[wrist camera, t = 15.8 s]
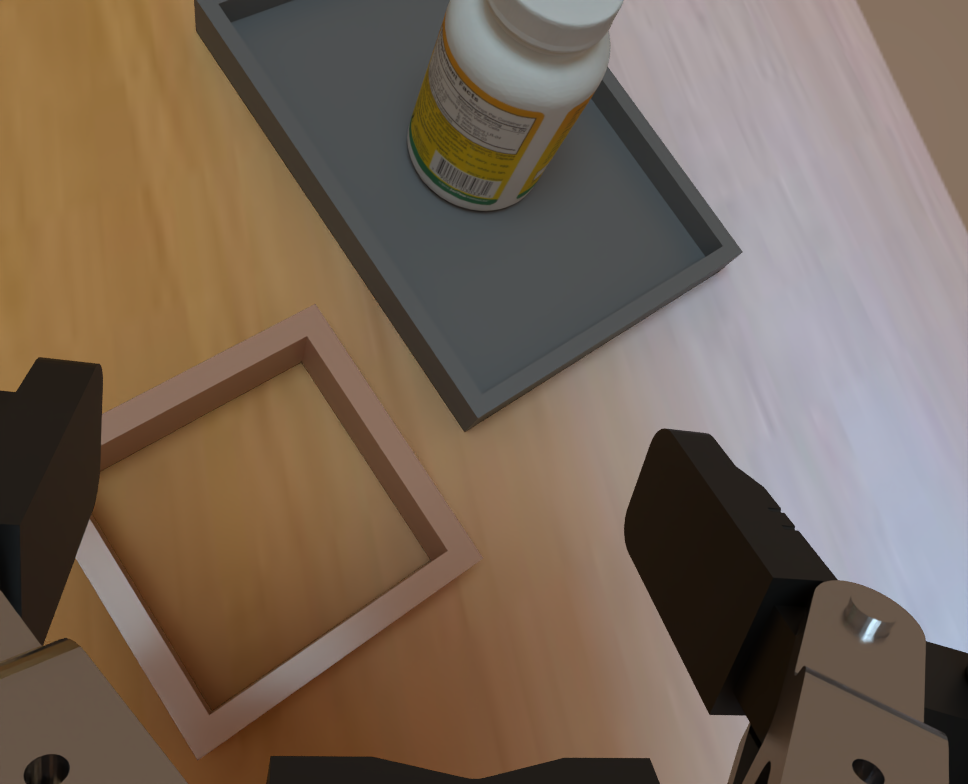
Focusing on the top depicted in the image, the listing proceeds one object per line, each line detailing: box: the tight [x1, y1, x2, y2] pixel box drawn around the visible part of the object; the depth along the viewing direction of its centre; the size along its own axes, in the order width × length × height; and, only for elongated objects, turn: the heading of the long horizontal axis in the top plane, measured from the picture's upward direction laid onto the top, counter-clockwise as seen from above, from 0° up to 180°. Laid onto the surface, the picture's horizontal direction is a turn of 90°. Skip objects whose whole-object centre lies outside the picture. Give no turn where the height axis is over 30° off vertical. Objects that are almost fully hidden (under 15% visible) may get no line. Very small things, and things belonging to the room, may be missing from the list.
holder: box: [75, 304, 483, 760], centre depth 26 cm, size 10×10×2 cm
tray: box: [194, 0, 742, 432], centre depth 33 cm, size 18×13×2 cm
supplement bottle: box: [407, 0, 624, 211], centre depth 29 cm, size 5×5×10 cm
